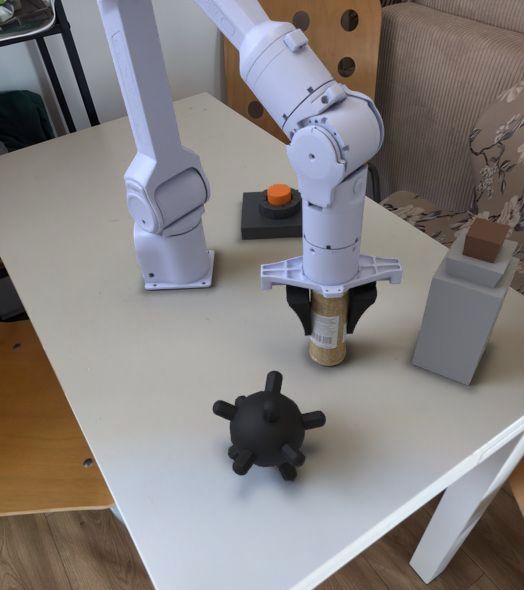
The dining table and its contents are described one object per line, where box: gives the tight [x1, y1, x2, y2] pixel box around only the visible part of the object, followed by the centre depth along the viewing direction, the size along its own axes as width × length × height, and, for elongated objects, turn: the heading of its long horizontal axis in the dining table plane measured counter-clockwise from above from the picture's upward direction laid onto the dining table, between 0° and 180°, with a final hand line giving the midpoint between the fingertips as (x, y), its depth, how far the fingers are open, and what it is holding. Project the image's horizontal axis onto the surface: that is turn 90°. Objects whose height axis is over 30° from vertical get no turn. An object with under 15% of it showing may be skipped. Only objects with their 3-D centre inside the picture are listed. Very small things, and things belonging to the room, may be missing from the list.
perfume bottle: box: [411, 216, 521, 386], centre depth 56 cm, size 7×7×18 cm
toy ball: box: [212, 370, 327, 482], centre depth 52 cm, size 11×11×12 cm
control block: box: [240, 187, 303, 241], centre depth 82 cm, size 12×10×4 cm
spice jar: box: [308, 288, 350, 367], centre depth 59 cm, size 5×5×13 cm
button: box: [267, 183, 291, 205], centre depth 80 cm, size 4×4×2 cm
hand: (327, 328), depth 60 cm, fingers closed on spice jar, 4 cm apart
